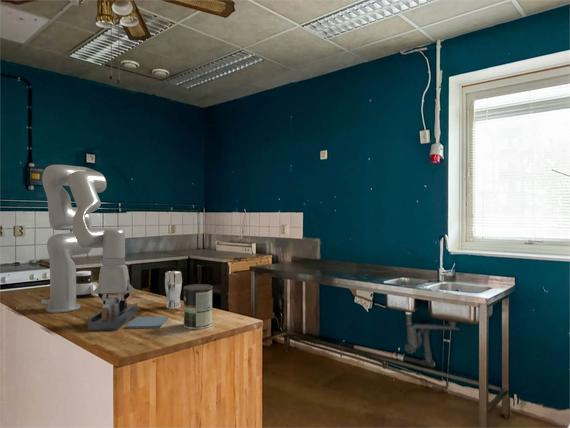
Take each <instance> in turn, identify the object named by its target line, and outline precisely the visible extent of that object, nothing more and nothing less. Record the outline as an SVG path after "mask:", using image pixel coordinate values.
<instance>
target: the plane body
mask: <svg viewBox="0 0 570 428" xmlns="http://www.w3.org/2000/svg"><path fill="white" fill-rule="evenodd" d="M138 305H139V304H138V302H135V303H133V304H131V305H130V306H129V305H128V300H127V299H126V310H125V311H123V312H122V313H120V314H119V315H118V316H116V317H109V308H103V307H102V308H101V310H99V311H98V312H96V313H94V314H93V315H91V316H90V317H88V318H87V331H88V332H89V331H90V332H91V331H98V332H99V331H102V332H104V331H105V332H106V331H118V330H120V329H121V328H122V327H123V326H124V325H127V324H128V322H129V321H130V320H133V319H134V318H135V316H136V315H138V314H139V313H138V311H139V310H138V309H139V308H138Z"/></svg>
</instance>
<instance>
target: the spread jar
mask: <svg viewBox="0 0 570 428" xmlns="http://www.w3.org/2000/svg"><path fill="white" fill-rule="evenodd" d="M97 286H98V282H96V281H95V282H93V277H92V271H91V270H82V271H81V270H80V271H79V270H78V271H76V299H77V298H78V299H81V298H89V297H91V296H93V297H95V298H97V297H99V296H98V295H97V294H95V293H94V290H95V289H96V288H97Z"/></svg>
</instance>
